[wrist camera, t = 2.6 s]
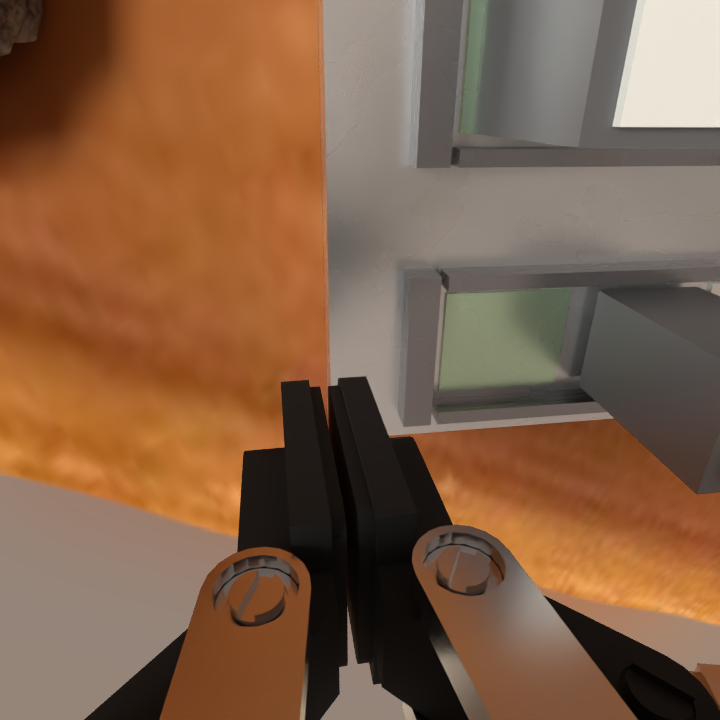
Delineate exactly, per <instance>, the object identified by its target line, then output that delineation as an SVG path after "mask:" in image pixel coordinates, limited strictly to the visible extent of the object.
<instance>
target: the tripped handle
mask: <svg viewBox="0 0 720 720" xmlns="http://www.w3.org/2000/svg"><path fill="white" fill-rule="evenodd" d="M579 386H580V387H581V388H582V389H583V390H584V391H585V392H586V393H587V394H589V395H590V396H591V397H592V398H593V399H594V400H595V401H596V402H597V403H598V404H599V405H600V406H602V407H603V408H604V409H605V410H606V411H607V412H608V413H609V414H610V415H611V416H612V417H613V418H615V419H616V420H617V421H618V422H619V423H620V424H621V425H622V426H623V427H624V428H625V429H626V430H628V431H629V432H630V433H631V434H632V435H633V436H634V437H635V438H636V439H637V440H638V441H639V442H641V443H642V444H643V445H644V446H645V447H646V448H647V449H648V450H649V451H650V452H651V453H652V454H654V455H655V456H656V457H657V458H658V459H659V460H660V461H661V462H662V463H663V464H664V465H665V466H667V467H668V468H669V469H670V470H671V471H672V472H673V473H674V474H675V475H676V476H677V477H678V478H680V479H681V480H682V481H683V482H684V483H685V484H686V485H687V486H688V487H689V488H690V489H691V490H693V491H694V492H695V493H696V494H706V493H716V492H720V296H718V295H716V294H713V293H711V292H709V291H706V290H704V289H702V288H699V287H697V286H696V287H672V288H648V289H624V290H600V291H599V293H598V298H597V302H596V307H595V312H594V316H593V321H592V326H591V330H590V335H589V340H588V344H587V349H586V354H585V358H584V363H583V368H582V372H581V377H580V382H579Z"/></svg>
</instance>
